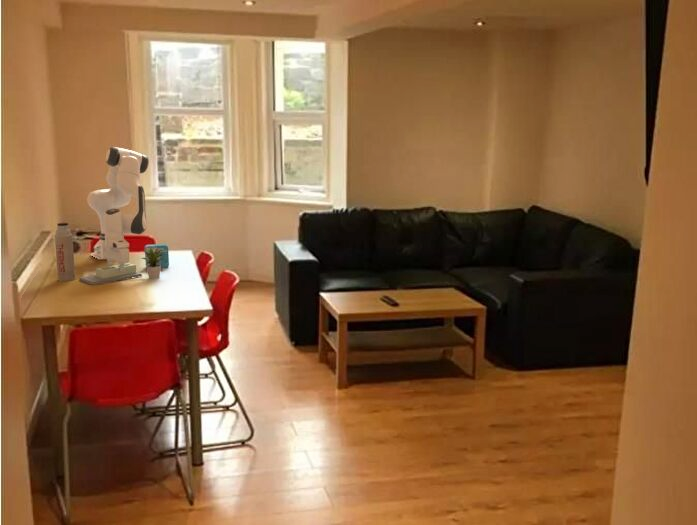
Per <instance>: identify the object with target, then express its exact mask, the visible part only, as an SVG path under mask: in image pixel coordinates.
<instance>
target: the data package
mask: <svg viewBox="0 0 697 525" xmlns="http://www.w3.org/2000/svg"><path fill="white" fill-rule="evenodd" d="M151 246H152V249H153V255H154V252H155V250H156V249H157V248H158V246H159V248H158V250H157V252H158V251H159V250H160V249H161V248H162V249H161V251H160V252H161V253H160V254H159V255H161V254H164V255H162V256H160V257H158V259H159V258H160V259H162V258H163V257H164V258H163V260H162V262H161V261H158V262H159V263H158V264H159V265H161V268H160V269H163V268H168V267H169V266H170V260H169V256H170V255H169V246H168V245H167V244H166V243H162V244H159V243H157V244H146V245H145V246H144V251H145V252H148V253H150V252H149V251H148V250H149V248H151ZM164 250H165V251H164ZM162 251H163V253H162ZM145 252H144V253H145ZM166 253H168V254H166ZM144 258H146V259H147V260H149V259H148V256H147V255H146V254H144ZM158 259H157V260H158ZM144 260H145V259H144ZM149 261H150V260H149ZM147 265H150V264H149V263H146V260H145V267H146V266H147Z"/></svg>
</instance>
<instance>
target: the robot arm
mask: <svg viewBox="0 0 697 525" xmlns="http://www.w3.org/2000/svg"><path fill="white" fill-rule="evenodd" d="M149 160H150V159H149V157H148V156H147V155H146V154H143V153H139V152H137V151H134V150H131V149H127V148H126V149H125V148H121V147H118V146H111V147H109V148H108V150H107V151H106V154H105V162H106V164H107V165H108V166H109V168H108V171H107V173H106V177H105V180H106V184H108V186H109V188H104V189H97V190H94V191H90V192H89V193H88V195H87V199H86V200H87V201H86V202H87V204H88V206H89V207H90V208H91V209H92V210H94V211H95V213H96V214H97V216H98V218H99V223H100V233H99V240H98V241H97V242H96V244H95V245H94V246H93V252H92V253H90V256H91V257H92V256H93V257H92V258H94V257H95V259H96V258H97V259H96V260H106V261H107V264H108V266H114V263H113V262H117V263H118V265H120V267H119V271H123V267H124V265H125V264H127V263H130V249H129V248H130V243H129V242H128V241H127V240H126V239H125V238H124V236H125V235H124V234H133V235H141V234H143V233H144V232H145V231H146V230H147V217H146V194H145V189H144V187H143V186H142V185H141V184H140V176H141V174H144V173H145V172H146V171H147V170H148V168H149V164H150V163H149ZM132 197H133V198H134V199H135V213H132V214H129V213H127V214H126V213H125V214H124V213H122V211H121V210H120V209H118V208H122V207H125V206H127V205H129V204H130V203H131V200H132V199H131V198H132Z"/></svg>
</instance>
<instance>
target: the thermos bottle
mask: <svg viewBox="0 0 697 525" xmlns="http://www.w3.org/2000/svg"><path fill="white" fill-rule="evenodd" d="M54 241H55V243H54V245H55V255H56V267H57V279H58V281H61V282H70V281H74V280H76V269H75V268H76V267H75V253H74V242H73V241H74V240H73V234H72V232H71V229H70V228H69V223H68V222H60V223H57V229H56V230H55V234H54Z"/></svg>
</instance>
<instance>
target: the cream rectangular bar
mask: <svg viewBox="0 0 697 525" xmlns="http://www.w3.org/2000/svg"><path fill="white" fill-rule="evenodd" d="M113 265H114V264H113ZM119 267H120V265H119V264H116V265H114V266H109V265H108V266H103V267H97V268H95V275H96V277H99V278H109V277H114V276H120V275H126V274H132V273H137V272H138V271H137V264H134V263H130V262H128V263H125V265H124V267H123V271H119Z"/></svg>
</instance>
